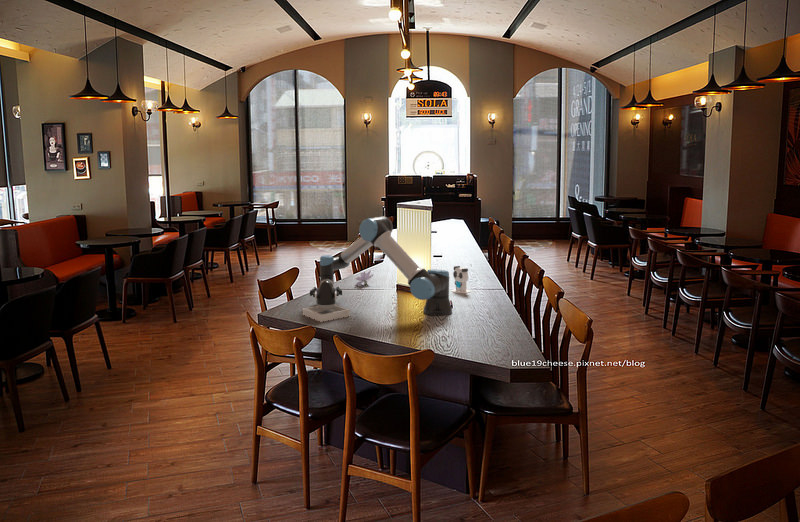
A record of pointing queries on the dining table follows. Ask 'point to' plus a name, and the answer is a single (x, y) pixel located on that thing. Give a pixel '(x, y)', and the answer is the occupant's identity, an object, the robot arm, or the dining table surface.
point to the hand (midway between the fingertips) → (325, 296)
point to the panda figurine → (460, 279)
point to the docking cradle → (326, 313)
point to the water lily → (363, 278)
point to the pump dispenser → (325, 296)
